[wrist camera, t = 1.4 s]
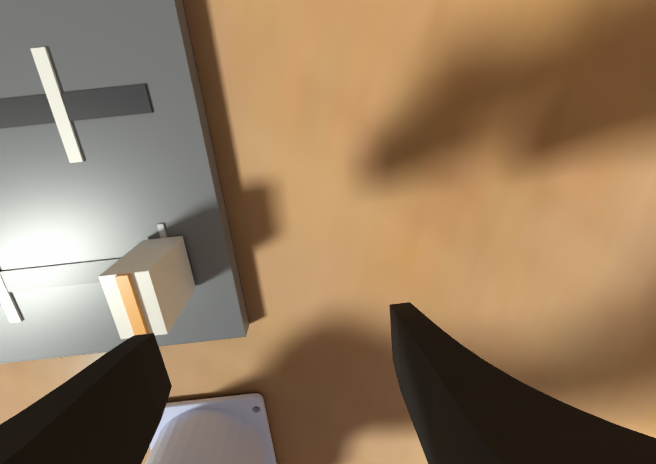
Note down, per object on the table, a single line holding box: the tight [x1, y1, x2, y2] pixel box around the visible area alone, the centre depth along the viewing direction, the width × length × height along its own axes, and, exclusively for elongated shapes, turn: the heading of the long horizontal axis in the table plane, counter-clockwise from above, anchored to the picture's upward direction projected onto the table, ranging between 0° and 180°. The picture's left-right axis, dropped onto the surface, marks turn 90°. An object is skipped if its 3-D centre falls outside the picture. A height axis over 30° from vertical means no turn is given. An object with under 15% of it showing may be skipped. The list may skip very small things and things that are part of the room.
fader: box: [98, 236, 196, 339], centre depth 17 cm, size 3×2×4 cm, turn 6°
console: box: [0, 0, 249, 364], centre depth 18 cm, size 18×18×1 cm
